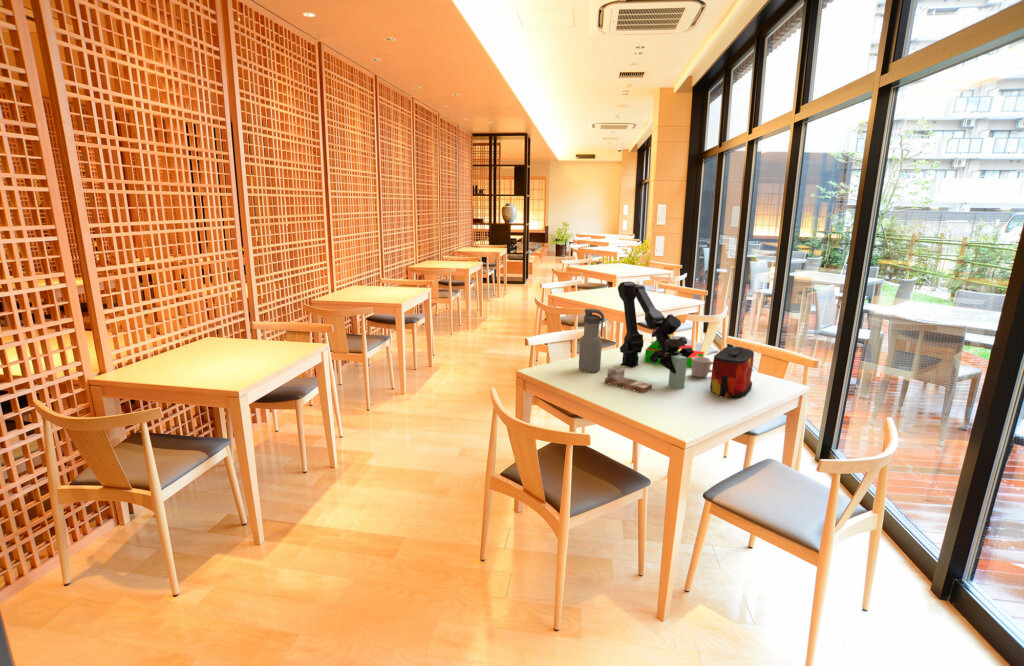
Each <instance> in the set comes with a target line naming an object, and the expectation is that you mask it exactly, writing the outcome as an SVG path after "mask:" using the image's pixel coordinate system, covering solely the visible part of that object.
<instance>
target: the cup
mask: <svg viewBox="0 0 1024 666" xmlns="http://www.w3.org/2000/svg"><path fill="white" fill-rule="evenodd" d="M712 365H713V360H711V359H710V358H708V357H705V356H704V357H692V367H691V375H692V376H693V377H695V378H700V379H702V378H706V377H707V376H708V374H709V373H712V369H711V366H712Z"/></svg>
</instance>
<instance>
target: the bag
mask: <svg viewBox="0 0 1024 666" xmlns="http://www.w3.org/2000/svg"><path fill="white" fill-rule="evenodd" d="M754 355H755V352H754V350H752V349H749V348H746V347H742V346H727V347H724V348H723V349H721V350H720V351H719V352H717V353H716V354H714V355H713V360H712V362H713V364H712V369H711V370H712V372H711V377H710V386H709V387H710V389H709V390H710V393H711V394H712V393H713V394H712V395H714V394H715V395H714V396H717V395H718V396H717V397H720V396H721V398H724V397H728V398H727V399H741V398H740V397H742V398H744V397H746V395H747V394H749V392H751V390H752V388H751V387H753V382H752V380H751V379H752V372H753V366H754V358H755V357H754ZM743 396H744V397H743Z"/></svg>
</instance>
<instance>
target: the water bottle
mask: <svg viewBox="0 0 1024 666" xmlns="http://www.w3.org/2000/svg"><path fill="white" fill-rule="evenodd" d="M584 313H585V314H584V316H583V323H584V326H583V335H582V336H581V337H580V339H579V351H578V369H580V371H581V370H582V371H581V372H583V371H585V372H584V373H587V372H595V373H598V372H600V371H601V361H602V346H603V345H602V344H603V340H602V338H603V332H604V331H603V330H604V329H603V328H604V324H603V323H604V322H605V315H604V313H603V311H601V310H600V309H596V308H585V309H584ZM600 322H601V324H600ZM599 329H600V330H599ZM599 333H600V335H599Z"/></svg>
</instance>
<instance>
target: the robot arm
mask: <svg viewBox="0 0 1024 666" xmlns="http://www.w3.org/2000/svg"><path fill="white" fill-rule="evenodd" d="M617 291H618V296H619V298H620V299H621V300H622V303H623V311H624V319H625V328H626V333H625V336H624V337H623V343H622V345H621V346H620V347H619V352H620V353H622V360H621V361H622V362H621V363H620V365H621V366H624V367H628V368H634V367H637V366H639V365H640V364H639V354H640V353H642V350H643V348H644V343H645V342H644V335H643V334H641V333H640V332H639V330H638V322H637V313H636V305H635V304H636V303H635V300H636V299H637V302H638V303H639V305H640V307H641V309H642V312H643V313H644V315H645V316H644V320H645V323H646V326H647V327H648V329H655V330H652V333H651V338H656V340H657V341H658V343H659V346H658V348H661V350H658V351H655V352H654V353H653V354H652V355H651V356H650V360H651V362H652V363H651V364H654V362H657V361H658V358H659V359H660V361H659V364H658V365H662V366H663V367H665V368H666V369H667V370H669V372H670V371H671V372H673V373H674V374H675V373H676V371H675V368H674V366H673V363H672V361H671V356H674V355H681V356H684V357H687V358H688V357H689V356H690V355H691V354H692V353H693V351H694V350H692V348H690V347H687V348H683V349H681V350H680V351H678V352H677V350H679V349H680V347H681V346H685V345H687V344H688V340H687V337H686V336H680V337H679V338H673V337H672V338H673V339H672V338H671V336H670V335H671V334H672V335H673V334H674V333H675V332H676V331H677V330H678V329H679V328H680V327H681V325H682V324H681V322H682V321H681V320H680V319H679V318H678V317H676V316H674V315H673V314H668V315H667V316H666V317H665V316H664V314H663V313H662V312H661V311H660V310H658V309H657V308H656V307H655V306H654V304H653V302H652V300H651V298H650V296H649V294H648V292H647V290H646V286H645V285H643V284H636V283H635V282H633V281H627V282H626V281H625V282H620V283H619V285H618V286H617Z"/></svg>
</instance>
